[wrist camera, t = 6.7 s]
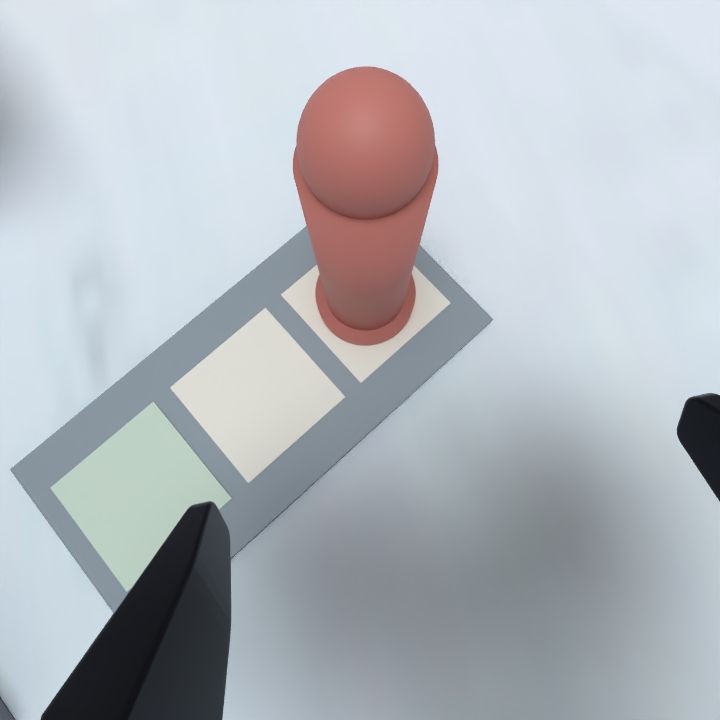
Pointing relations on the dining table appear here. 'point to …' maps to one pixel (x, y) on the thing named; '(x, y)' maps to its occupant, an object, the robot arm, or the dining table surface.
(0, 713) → the button box
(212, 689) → the robot arm
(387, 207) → the pawn
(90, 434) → the track board
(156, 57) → the dining table surface
